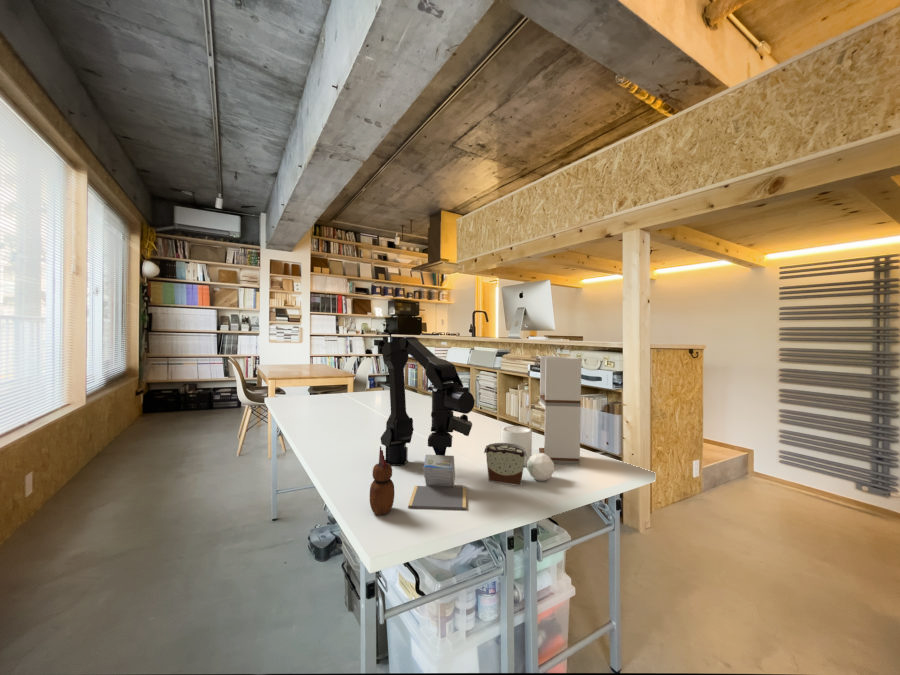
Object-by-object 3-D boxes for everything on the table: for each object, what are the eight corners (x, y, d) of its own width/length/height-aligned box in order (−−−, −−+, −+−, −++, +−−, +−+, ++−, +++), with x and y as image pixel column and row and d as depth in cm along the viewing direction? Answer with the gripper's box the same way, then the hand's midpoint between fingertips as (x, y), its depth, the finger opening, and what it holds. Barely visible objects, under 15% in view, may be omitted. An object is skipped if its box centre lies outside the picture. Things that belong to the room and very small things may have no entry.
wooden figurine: (371, 505, 92) (372, 444, 92) (395, 504, 93) (395, 444, 93) (367, 518, 86) (368, 453, 86) (393, 517, 86) (393, 452, 86)
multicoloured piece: (529, 478, 111) (529, 445, 111) (526, 486, 105) (527, 451, 105) (488, 473, 115) (488, 440, 115) (483, 480, 109) (484, 446, 109)
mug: (493, 453, 134) (493, 424, 134) (520, 452, 136) (520, 423, 136) (507, 467, 121) (507, 434, 120) (536, 465, 123) (537, 432, 123)
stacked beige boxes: (571, 454, 134) (572, 356, 134) (579, 464, 124) (581, 358, 123) (539, 453, 135) (540, 356, 135) (544, 463, 124) (546, 358, 124)
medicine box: (455, 474, 107) (454, 454, 102) (454, 488, 103) (452, 468, 98) (428, 473, 108) (425, 453, 103) (425, 487, 104) (423, 467, 99)
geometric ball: (546, 488, 111) (564, 468, 110) (532, 485, 106) (550, 464, 104) (531, 468, 117) (547, 449, 115) (517, 464, 112) (533, 445, 110)
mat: (408, 508, 91) (408, 505, 91) (414, 487, 103) (414, 485, 103) (465, 509, 90) (465, 507, 90) (465, 489, 102) (465, 487, 102)
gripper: (471, 415, 96) (470, 476, 96) (470, 402, 114) (469, 453, 114) (427, 414, 96) (427, 475, 96) (433, 401, 115) (433, 452, 115)
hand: (441, 463), depth 105 cm, fingers closed
